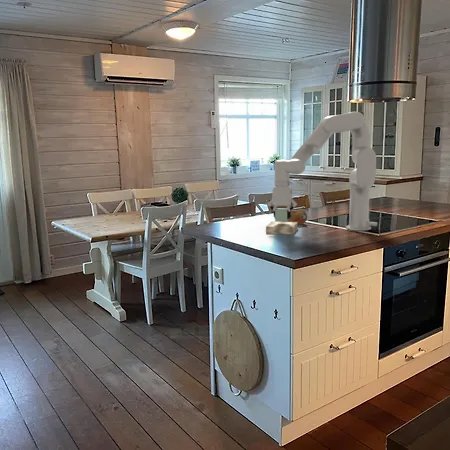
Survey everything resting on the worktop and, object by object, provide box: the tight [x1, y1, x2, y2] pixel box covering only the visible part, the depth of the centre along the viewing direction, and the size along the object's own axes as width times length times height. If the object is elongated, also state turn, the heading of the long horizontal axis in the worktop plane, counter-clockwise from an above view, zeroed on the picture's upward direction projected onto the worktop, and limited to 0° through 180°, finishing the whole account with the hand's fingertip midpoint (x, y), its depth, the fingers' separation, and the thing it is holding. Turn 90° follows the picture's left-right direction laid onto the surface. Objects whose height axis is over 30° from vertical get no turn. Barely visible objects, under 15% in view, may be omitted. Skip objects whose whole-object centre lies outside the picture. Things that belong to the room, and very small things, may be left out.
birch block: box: [265, 221, 299, 235], centre depth 244 cm, size 14×14×4 cm
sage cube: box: [274, 207, 289, 222], centre depth 243 cm, size 6×6×6 cm
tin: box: [287, 209, 308, 226], centre depth 260 cm, size 15×3×8 cm, turn 105°
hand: (282, 218), depth 243 cm, fingers closed on sage cube, 6 cm apart
